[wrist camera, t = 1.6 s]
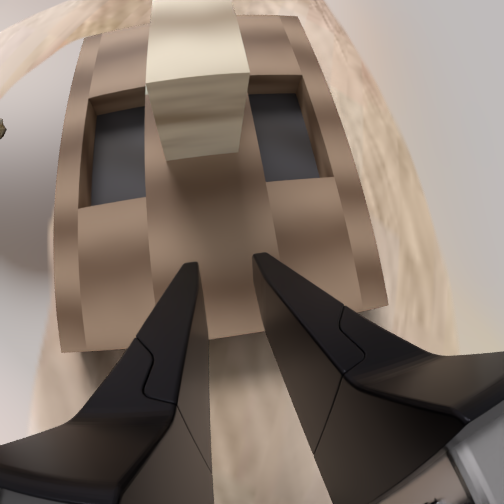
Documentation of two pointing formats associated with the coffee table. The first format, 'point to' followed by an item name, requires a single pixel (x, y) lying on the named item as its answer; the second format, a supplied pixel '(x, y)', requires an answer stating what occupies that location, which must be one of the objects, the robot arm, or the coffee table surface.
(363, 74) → the coffee table surface
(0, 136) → the mineral specimen
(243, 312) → the board
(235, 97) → the birch block
